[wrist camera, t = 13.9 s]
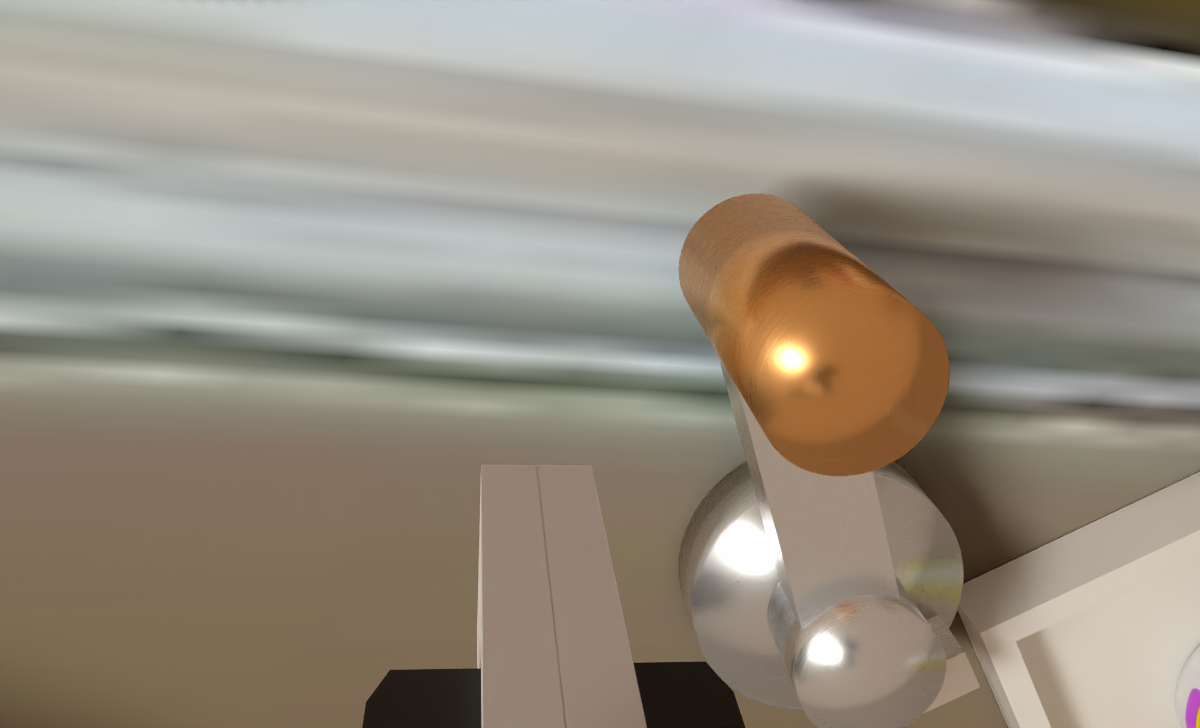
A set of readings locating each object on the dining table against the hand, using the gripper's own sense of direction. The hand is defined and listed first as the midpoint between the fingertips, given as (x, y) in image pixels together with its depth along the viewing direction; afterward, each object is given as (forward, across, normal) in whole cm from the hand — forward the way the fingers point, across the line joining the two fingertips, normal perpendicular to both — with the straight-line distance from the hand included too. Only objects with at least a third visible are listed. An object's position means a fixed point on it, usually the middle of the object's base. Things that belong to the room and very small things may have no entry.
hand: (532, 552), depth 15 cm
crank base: (+18, +11, -12) cm, 24 cm away
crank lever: (+15, +9, -6) cm, 18 cm away
